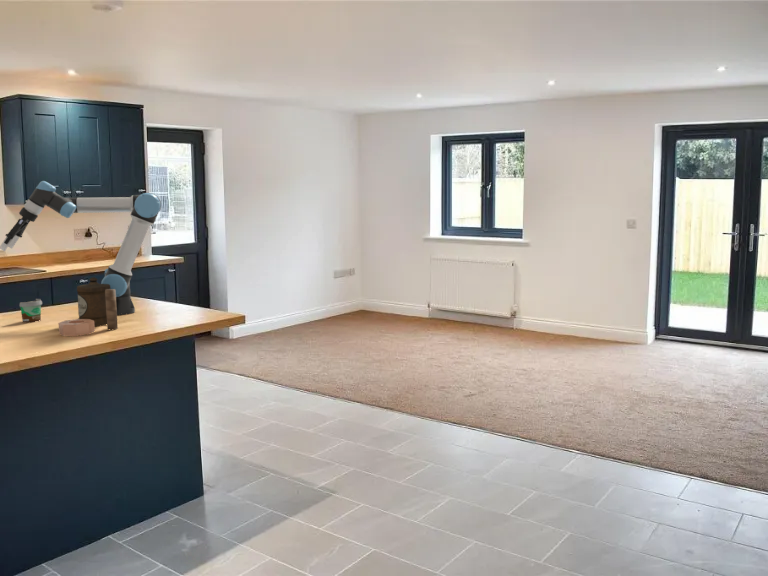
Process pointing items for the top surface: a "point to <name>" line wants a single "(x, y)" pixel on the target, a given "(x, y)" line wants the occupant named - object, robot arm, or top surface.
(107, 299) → the walnut dowel
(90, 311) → the wooden container
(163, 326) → the top surface
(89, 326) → the terracotta bead
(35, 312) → the food container
